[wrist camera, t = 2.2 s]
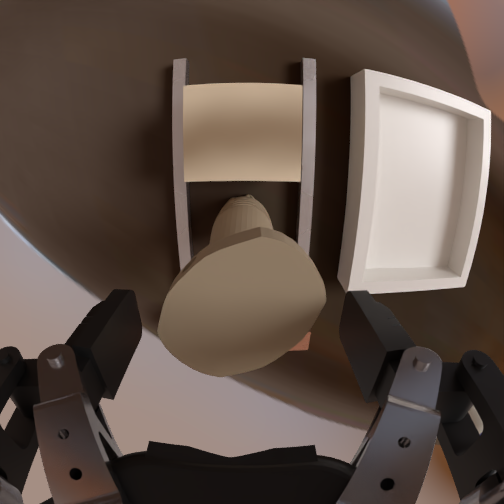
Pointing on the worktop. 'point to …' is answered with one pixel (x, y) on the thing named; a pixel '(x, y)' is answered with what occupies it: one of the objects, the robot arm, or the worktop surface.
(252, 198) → the handle
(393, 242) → the tray
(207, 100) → the block
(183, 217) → the track
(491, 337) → the worktop surface
